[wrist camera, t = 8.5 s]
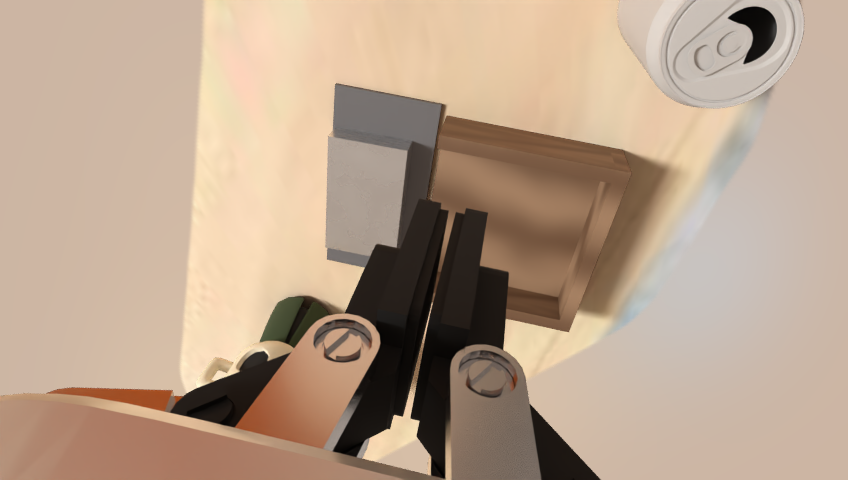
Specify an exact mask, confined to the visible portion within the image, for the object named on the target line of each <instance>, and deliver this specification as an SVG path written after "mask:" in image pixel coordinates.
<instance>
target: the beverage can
mask: <svg viewBox="0 0 848 480" xmlns="http://www.w3.org/2000/svg"><path fill="white" fill-rule="evenodd" d="M617 19H618V26H619V29H620V32H621V35H622V37H623V39H624V40H625V42H626V43H627V45H628V46H629V47H630V49H631V50H632V52H633V53H634V55H635V56H636V57H637V59H638V60H639V62H640V63H641V64H642V66H643V67H644V69H645V70H646V72H647V73H648V74H649V76H650V77H651V79H652V80H653V81H654V83H655V84H656V86H657V87H658V88H659V89H660V90H661V91H662V92H663V93H664V94H665V95H666V96H668V97H669V98H671V99H672V100H674V101H676V102H678V103H681V104H684V105H687V106H691V107H699V108H726V107H731V106H735V105H739V104H742V103H744V102H747V101H749V100H751V99H753V98H755V97H757V96H759V95H760V94H762V93H763V92H765V91H766V90H768V89H769V88H770V87H772V86H773V85H774V84H775V83H776V82H777V81H778V80H779V79H780V78H781V77H782V76H783V75H784V74H785V72H786V71H787V70H788V69H789V67H790V66H791V64H792V63H793V61H794V59H795V57H796V56H797V53H798V51H799V48H800V44H801V42H802V38H803V34H804V15H803V10H802V7H801V3H800V0H619V3H618V10H617Z"/></svg>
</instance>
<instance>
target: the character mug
mask: <svg viewBox="0 0 848 480" xmlns="http://www.w3.org/2000/svg"><path fill="white" fill-rule="evenodd" d="M303 300H304V298H302V297H288V298H286V299H284V300H282V301H280V302H278V304H277V305H276V307H275V309H274V310H273V312H272V314H271V316H270V318H269V320H268V323H267V325H266V327H265V330H264V332H263V335H262V337H261V340H260V342H259V343H255V344H253V345H251V346H249V347H248V348H246V349H245V350H243V351H242V352H241V353H240V354H239V356H238V357H237V359H236V360H235V362H234V363H233V362H231V361H228V360H225V359H222V358H214V359H213V360H211V361H210V363H209V364H208V365H207V367H206V368H205V370H204V371H203V373H202V374H201V375H200V377H199V378H198V380H197V383H196V386H197V387H201V386H203V385H206V384H209V383H211V382H214V381H213V380H211V379H212V378H213V376H214V375H215V373H216V372H217V370H220V371H223V372H226V373H227V374H226V376H225V377H227V376H230V375H232V374H235V373H237V372H240V371H243V370H245V369H248V368H251V367H253V366H256V365H258V364H261V363H264V362H266V361H269V360H272V359H274V358H277V357H279V356H282V355H285V354H287V353H290V352H292V351H293V349H294V348H295V347H296V345H297V344H298V343H299V341H300V340H301V339H302V337H303V336H304V335H305V333H306V332H307V331H308V329H309V328H310V327H311V326H312V325H313V324H314V323H315V322H316V321H318V320H320V319H322V318H324V317H326V316H329V313H328V312H327V311H326V310H325V309H324V308H323V307H322V306H320V305H319V304H318V303H316V302H313V303H312V305H311V306H310V308H309V310H308V309H306V308H302V307H301V304H302V302H303Z"/></svg>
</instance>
